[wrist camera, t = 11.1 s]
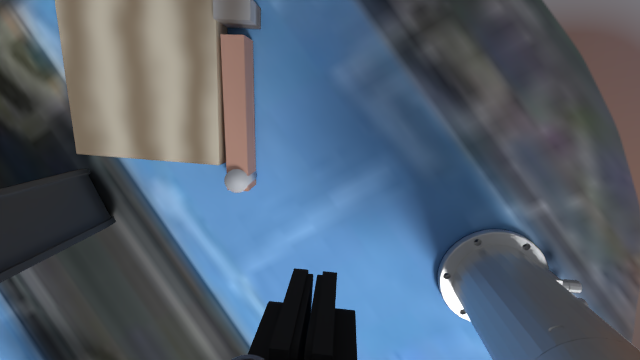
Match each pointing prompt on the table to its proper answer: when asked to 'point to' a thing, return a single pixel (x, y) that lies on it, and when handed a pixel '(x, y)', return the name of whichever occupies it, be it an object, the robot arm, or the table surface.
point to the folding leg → (238, 111)
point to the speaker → (47, 218)
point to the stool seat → (149, 75)
